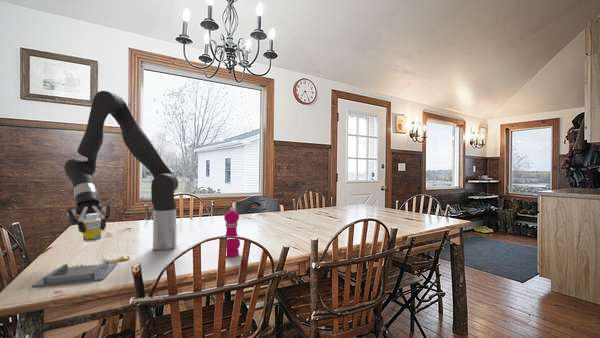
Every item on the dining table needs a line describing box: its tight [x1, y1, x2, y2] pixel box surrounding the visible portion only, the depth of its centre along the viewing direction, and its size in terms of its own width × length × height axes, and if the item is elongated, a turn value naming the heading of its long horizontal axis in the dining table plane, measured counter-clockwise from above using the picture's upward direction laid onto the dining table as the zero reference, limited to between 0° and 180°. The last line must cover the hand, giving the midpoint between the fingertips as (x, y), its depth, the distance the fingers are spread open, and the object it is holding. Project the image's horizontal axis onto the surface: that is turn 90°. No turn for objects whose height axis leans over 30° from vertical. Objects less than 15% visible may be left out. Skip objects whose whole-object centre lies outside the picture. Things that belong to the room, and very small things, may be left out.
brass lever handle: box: [107, 255, 130, 264], centre depth 103 cm, size 7×3×1 cm, turn 143°
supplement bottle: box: [82, 213, 102, 243], centre depth 103 cm, size 6×6×10 cm
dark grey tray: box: [31, 260, 118, 288], centre depth 89 cm, size 18×14×2 cm
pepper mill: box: [223, 206, 241, 258], centre depth 112 cm, size 7×7×20 cm
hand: (93, 230), depth 102 cm, fingers closed on supplement bottle, 5 cm apart
